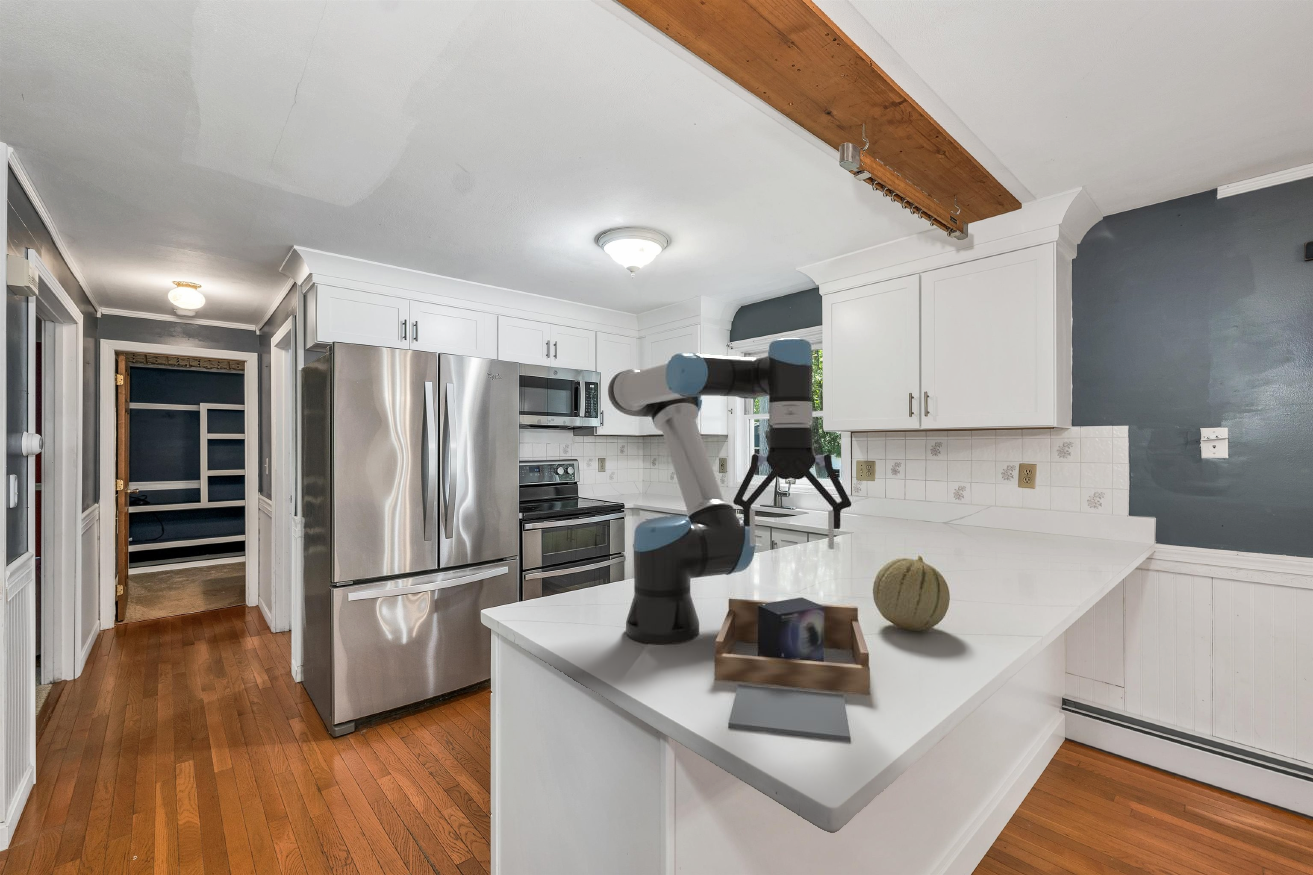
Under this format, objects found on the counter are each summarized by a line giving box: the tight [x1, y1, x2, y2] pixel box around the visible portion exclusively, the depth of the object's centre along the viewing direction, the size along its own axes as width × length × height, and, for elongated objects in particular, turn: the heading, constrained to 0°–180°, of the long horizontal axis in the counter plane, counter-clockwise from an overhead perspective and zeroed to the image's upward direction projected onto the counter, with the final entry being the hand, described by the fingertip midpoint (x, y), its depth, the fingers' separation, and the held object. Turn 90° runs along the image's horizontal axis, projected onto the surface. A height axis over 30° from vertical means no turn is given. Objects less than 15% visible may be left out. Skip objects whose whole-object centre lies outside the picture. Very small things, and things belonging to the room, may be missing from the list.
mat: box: [727, 684, 851, 742], centre depth 84 cm, size 16×13×1 cm
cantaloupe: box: [872, 555, 951, 632], centre depth 121 cm, size 15×15×15 cm
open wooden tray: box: [714, 598, 871, 696], centre depth 103 cm, size 24×20×8 cm
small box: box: [756, 596, 825, 662], centre depth 103 cm, size 11×6×10 cm, turn 117°
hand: (791, 546), depth 103 cm, fingers open, 13 cm apart
